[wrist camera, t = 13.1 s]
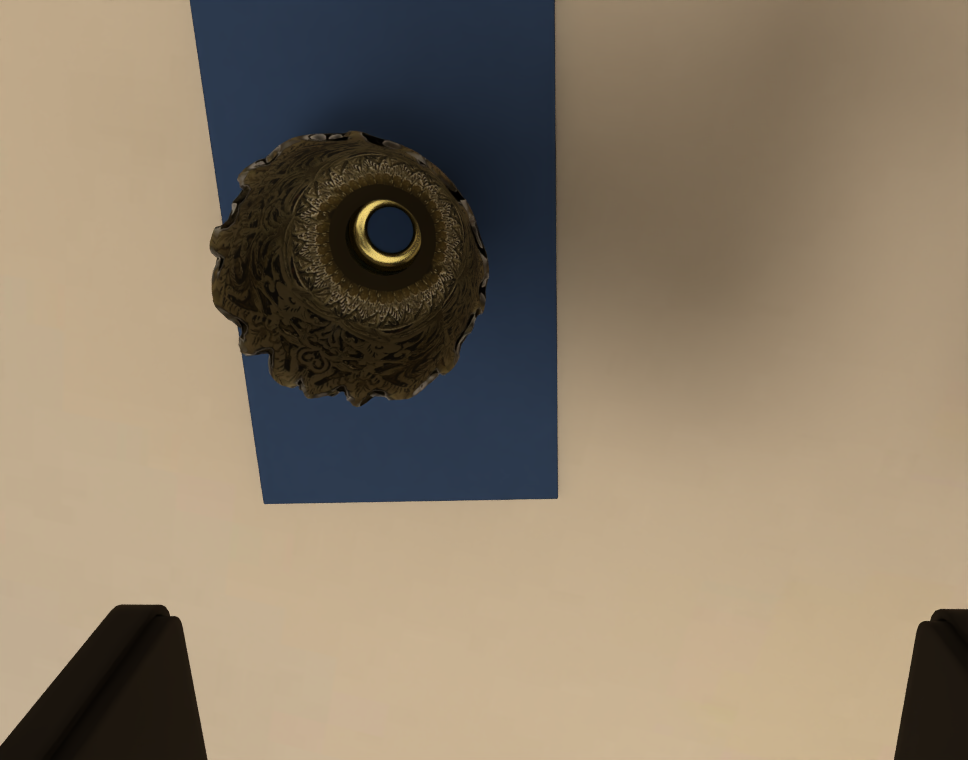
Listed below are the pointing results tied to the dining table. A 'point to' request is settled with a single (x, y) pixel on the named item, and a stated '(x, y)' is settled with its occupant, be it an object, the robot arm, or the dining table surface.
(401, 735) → the dining table surface
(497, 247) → the cloth
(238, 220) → the dark brown rounded piece
